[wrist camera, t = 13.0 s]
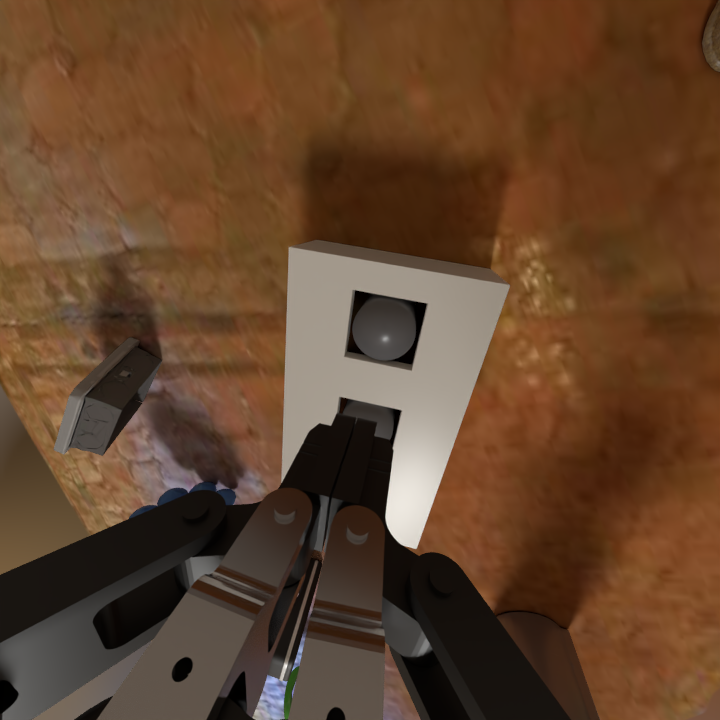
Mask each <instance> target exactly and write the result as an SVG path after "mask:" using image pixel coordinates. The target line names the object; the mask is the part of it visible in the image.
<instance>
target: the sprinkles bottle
mask: <svg viewBox="0 0 720 720" xmlns="http://www.w3.org/2000/svg"><path fill="white" fill-rule="evenodd" d="M702 46H703V53H704V55H705V58H706V61H707V63H708V64H709V65H710V67H712V68H713V69H714V70H715V71H718V72H720V0H719V1H718V2H717V4H716V6H715V8H714V10H713V12H712V13H711V15H710V17H709V19H708V22H707V25H706V27H705V30H704V36H703V40H702Z"/></svg>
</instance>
